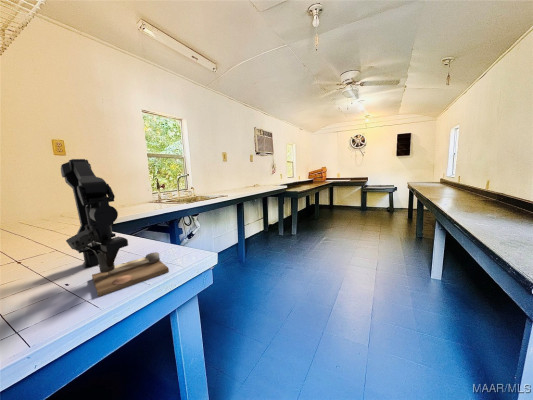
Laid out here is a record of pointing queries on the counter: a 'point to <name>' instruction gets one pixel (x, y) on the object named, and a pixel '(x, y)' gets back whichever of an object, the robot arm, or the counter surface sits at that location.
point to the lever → (104, 267)
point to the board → (127, 277)
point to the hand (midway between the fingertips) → (106, 265)
